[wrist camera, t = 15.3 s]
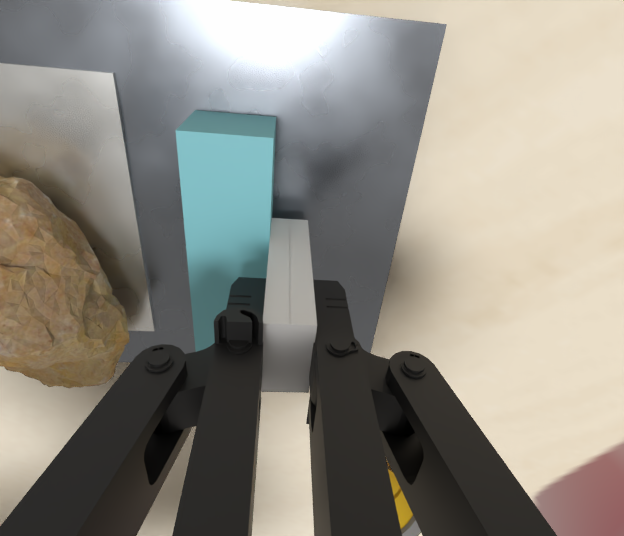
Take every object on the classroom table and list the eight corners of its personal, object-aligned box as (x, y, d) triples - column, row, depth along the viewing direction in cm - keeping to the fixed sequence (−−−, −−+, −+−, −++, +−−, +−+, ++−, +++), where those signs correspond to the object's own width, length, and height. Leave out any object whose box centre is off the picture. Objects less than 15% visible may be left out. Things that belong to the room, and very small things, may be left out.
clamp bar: (208, 318, 20) (196, 362, 18) (195, 110, 15) (175, 130, 12) (267, 320, 20) (264, 364, 18) (276, 117, 15) (273, 137, 12)
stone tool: (-359, 244, 10) (-14, 446, 11) (-114, 75, 13) (153, 243, 13) (-103, 311, 19) (84, 423, 19) (13, 201, 21) (174, 301, 22)
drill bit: (372, 585, 28) (302, 476, 26) (383, 517, 33) (324, 421, 31) (445, 581, 26) (373, 462, 24) (445, 509, 31) (385, 405, 29)
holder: (-71, 342, 22) (-89, 358, 21) (-300, -57, 13) (-352, -63, 12) (363, 356, 24) (366, 371, 23) (437, 23, 15) (448, 24, 14)
